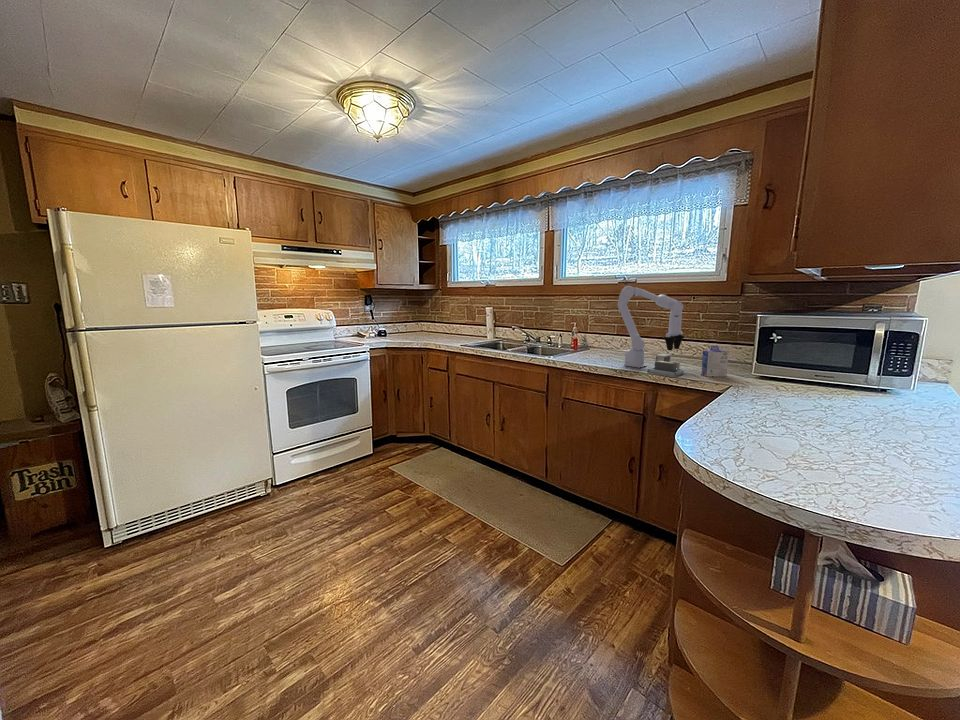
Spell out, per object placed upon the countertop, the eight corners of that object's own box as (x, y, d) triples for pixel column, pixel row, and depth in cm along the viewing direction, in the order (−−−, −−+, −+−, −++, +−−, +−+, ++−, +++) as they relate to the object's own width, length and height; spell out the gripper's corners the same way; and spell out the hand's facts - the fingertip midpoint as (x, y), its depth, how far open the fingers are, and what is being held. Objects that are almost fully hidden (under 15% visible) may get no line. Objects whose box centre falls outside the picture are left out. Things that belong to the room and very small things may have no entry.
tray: (647, 372, 197) (647, 368, 197) (655, 369, 203) (656, 366, 202) (675, 376, 186) (675, 372, 186) (683, 374, 192) (683, 370, 192)
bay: (654, 368, 206) (655, 355, 205) (662, 366, 211) (663, 353, 210) (672, 371, 199) (673, 357, 198) (679, 369, 204) (680, 355, 203)
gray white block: (654, 371, 197) (654, 361, 196) (658, 370, 199) (658, 360, 198) (672, 374, 190) (672, 363, 189) (675, 372, 192) (676, 362, 192)
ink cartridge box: (720, 374, 191) (723, 345, 188) (727, 376, 185) (730, 346, 183) (700, 374, 191) (702, 345, 188) (706, 377, 185) (709, 346, 183)
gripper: (676, 325, 196) (674, 351, 198) (689, 323, 205) (687, 349, 207) (662, 324, 201) (660, 350, 203) (675, 322, 210) (673, 347, 212)
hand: (673, 349), depth 206 cm, fingers open, 7 cm apart
